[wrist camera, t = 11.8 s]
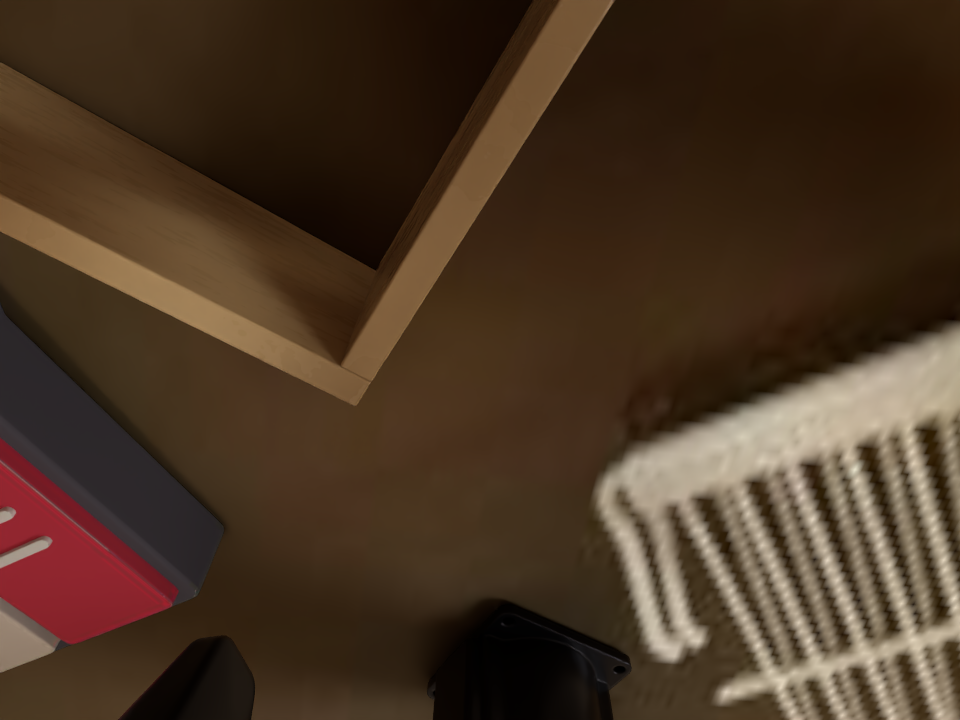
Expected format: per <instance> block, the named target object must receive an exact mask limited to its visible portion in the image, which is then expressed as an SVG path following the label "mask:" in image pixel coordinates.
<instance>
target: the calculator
mask: <svg viewBox="0 0 960 720" xmlns="http://www.w3.org/2000/svg"><path fill="white" fill-rule="evenodd" d="M223 533H224V527H223V525H222V524H221V523H220V522H219V521H218V520H217V519H216V518H215V517H214V516H213V515H212V514H211V513H210V512H209V511H208V510H207V509H206V508H205V507H204V506H203V505H202V504H200V503H199V502H198V501H197V500H196V499H195V498H194V497H193V496H192V495H191V494H190V493H189V492H188V491H187V490H186V489H185V488H184V487H183V486H182V485H181V484H180V483H179V482H178V481H177V480H176V479H175V478H173V477H172V476H171V475H170V474H169V473H168V472H167V471H166V470H165V469H164V468H163V467H162V466H161V465H160V464H159V463H158V462H157V461H156V460H155V459H154V458H153V457H152V456H151V455H150V454H149V453H148V452H147V451H145V450H144V449H143V448H142V447H141V446H140V445H139V444H138V443H137V442H136V441H135V440H134V439H133V438H132V437H131V436H130V435H129V434H128V433H127V432H126V431H125V430H124V429H123V428H122V427H121V426H120V425H119V424H117V423H116V422H115V421H114V420H113V419H112V418H111V417H110V416H109V415H108V414H107V413H106V412H105V411H104V410H103V409H102V408H101V407H100V406H99V405H98V404H97V403H96V402H95V401H94V400H93V399H92V398H91V397H89V396H88V395H87V394H86V393H85V392H84V391H83V390H82V389H81V388H80V387H79V386H78V385H77V384H76V383H75V382H74V381H73V380H72V379H71V378H70V377H69V376H68V375H67V374H66V373H65V372H64V371H63V370H61V369H60V368H59V367H58V366H57V365H56V364H55V363H54V362H53V361H52V360H51V359H50V358H49V357H48V356H47V355H46V354H45V353H44V352H43V351H42V350H41V349H40V348H39V347H38V346H37V345H36V344H35V343H33V342H32V341H31V340H30V339H29V338H28V337H27V336H26V335H25V334H24V333H23V332H22V331H21V330H20V329H19V328H18V327H17V326H16V325H15V324H14V323H13V322H12V321H11V320H10V319H9V318H8V317H7V316H6V315H5V313H4V311H3V308H2V306H1V303H0V673H1V672H3V671H6V670H9V669H11V668H14V667H17V666H19V665H22V664H24V663H27V662H30V661H32V660H35V659H37V658H40V657H43V656H45V655H48V654H50V653H52V652H54V651H57V650H59V649H62V648H65V647H67V646H70V645H72V644H76V643H79V642H82V641H85V640H87V639H90V638H92V637H95V636H98V635H100V634H103V633H106V632H108V631H111V630H113V629H116V628H119V627H121V626H124V625H127V624H129V623H132V622H134V621H137V620H140V619H142V618H145V617H147V616H150V615H153V614H155V613H158V612H161V611H163V610H166V609H168V608H170V607H172V606H174V605H177V604H180V603H182V602H185V601H187V600H190V599H192V598H194V597H196V596H197V595H198V594H199V592H200V590H201V587H202V585H203V583H204V580H205V578H206V575H207V573H208V570H209V568H210V565H211V563H212V561H213V558H214V556H215V553H216V551H217V548H218V546H219V543H220V541H221V538H222V536H223Z"/></svg>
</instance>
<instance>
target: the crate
mask: <svg viewBox="0 0 960 720" xmlns="http://www.w3.org/2000/svg"><path fill="white" fill-rule="evenodd" d="M614 1H615V0H533V1H532V3H531V5H530V7H529V8H528V10H527V12H526V13H525V15H524V17H523V19H522V20H521V22H520V24H519V25H518V27H517V29H516V31H515V32H514V34H513V36H512V37H511V39H510V41H509V43H508V44H507V46H506V48H505V49H504V51H503V53H502V55H501V56H500V58H499V60H498V61H497V63H496V65H495V67H494V68H493V70H492V72H491V74H490V75H489V77H488V79H487V80H486V82H485V84H484V86H483V87H482V89H481V91H480V92H479V94H478V96H477V98H476V99H475V101H474V103H473V104H472V106H471V108H470V110H469V111H468V113H467V115H466V116H465V118H464V120H463V122H462V123H461V125H460V127H459V128H458V130H457V132H456V134H455V135H454V137H453V139H452V140H451V142H450V144H449V146H448V147H447V149H446V151H445V153H444V154H443V156H442V158H441V159H440V161H439V163H438V165H437V166H436V168H435V170H434V171H433V173H432V175H431V177H430V178H429V180H428V182H427V183H426V185H425V187H424V189H423V190H422V192H421V194H420V195H419V197H418V199H417V201H416V202H415V204H414V206H413V207H412V209H411V211H410V213H409V214H408V216H407V218H406V219H405V221H404V223H403V225H402V226H401V228H400V230H399V232H398V233H397V235H396V237H395V238H394V240H393V242H392V244H391V245H390V247H389V249H388V250H387V252H386V254H385V256H384V257H383V259H382V261H381V262H380V264H379V266H378V268H377V269H376V271H375V270H374V269H372V268H370V267H368V266H366V265H365V264H363V263H361V262H359V261H357V260H356V259H354V258H352V257H350V256H348V255H347V254H345V253H343V252H341V251H339V250H338V249H336V248H334V247H332V246H330V245H329V244H327V243H325V242H323V241H321V240H320V239H318V238H316V237H314V236H312V235H311V234H309V233H307V232H305V231H303V230H302V229H300V228H298V227H296V226H294V225H293V224H291V223H289V222H287V221H285V220H284V219H282V218H280V217H278V216H276V215H275V214H273V213H271V212H269V211H267V210H266V209H264V208H262V207H260V206H258V205H257V204H255V203H253V202H251V201H249V200H248V199H246V198H244V197H242V196H240V195H239V194H237V193H235V192H233V191H231V190H230V189H228V188H226V187H224V186H222V185H221V184H219V183H217V182H215V181H213V180H212V179H210V178H208V177H206V176H204V175H203V174H201V173H199V172H197V171H195V170H194V169H192V168H190V167H188V166H186V165H185V164H183V163H181V162H179V161H177V160H176V159H174V158H172V157H170V156H168V155H167V154H165V153H163V152H161V151H159V150H158V149H156V148H154V147H152V146H150V145H149V144H147V143H145V142H143V141H141V140H140V139H138V138H136V137H134V136H132V135H131V134H129V133H127V132H125V131H123V130H122V129H120V128H118V127H116V126H114V125H113V124H111V123H109V122H107V121H105V120H104V119H102V118H100V117H98V116H96V115H95V114H93V113H91V112H89V111H87V110H86V109H84V108H82V107H80V106H78V105H77V104H75V103H73V102H71V101H69V100H68V99H66V98H64V97H62V96H60V95H59V94H57V93H55V92H53V91H51V90H50V89H48V88H46V87H44V86H42V85H41V84H39V83H37V82H35V81H33V80H32V79H30V78H28V77H26V76H24V75H23V74H21V73H19V72H17V71H16V70H14V69H12V68H10V67H8V66H7V65H5V64H3V63H1V62H0V232H2V233H4V234H6V235H8V236H10V237H12V238H14V239H16V240H18V241H20V242H22V243H24V244H26V245H28V246H30V247H32V248H34V249H36V250H38V251H40V252H42V253H44V254H47V255H49V256H51V257H53V258H55V259H57V260H59V261H61V262H63V263H65V264H67V265H69V266H71V267H73V268H75V269H77V270H79V271H81V272H83V273H85V274H87V275H89V276H91V277H93V278H95V279H97V280H99V281H101V282H103V283H105V284H107V285H109V286H111V287H113V288H116V289H118V290H120V291H122V292H124V293H126V294H128V295H130V296H132V297H134V298H136V299H138V300H140V301H142V302H144V303H146V304H148V305H150V306H152V307H154V308H156V309H158V310H160V311H162V312H164V313H166V314H168V315H170V316H172V317H174V318H176V319H178V320H180V321H182V322H184V323H187V324H189V325H191V326H193V327H195V328H197V329H199V330H201V331H203V332H205V333H207V334H209V335H211V336H213V337H215V338H217V339H219V340H221V341H223V342H225V343H227V344H229V345H231V346H233V347H235V348H237V349H239V350H241V351H243V352H245V353H247V354H249V355H251V356H253V357H256V358H258V359H260V360H262V361H264V362H266V363H268V364H270V365H272V366H274V367H276V368H278V369H280V370H282V371H284V372H286V373H288V374H290V375H292V376H294V377H296V378H298V379H300V380H302V381H304V382H306V383H308V384H310V385H312V386H314V387H316V388H318V389H320V390H322V391H324V392H327V393H329V394H331V395H333V396H335V397H337V398H339V399H341V400H343V401H345V402H347V403H349V404H351V405H353V406H356V405H357V404H358V403H359V401H360V399H361V398H362V396H363V395H364V393H365V392H366V390H367V388H368V387H369V385H370V384H371V381H372V380H373V379H374V377H375V376H376V374H377V373H378V371H379V370H380V368H381V366H382V365H383V363H384V362H385V360H386V359H387V357H388V355H389V354H390V352H391V351H392V349H393V348H394V346H395V344H396V343H397V341H398V340H399V338H400V337H401V335H402V334H403V332H404V330H405V329H406V327H407V326H408V324H409V323H410V321H411V319H412V318H413V316H414V315H415V313H416V312H417V310H418V308H419V307H420V305H421V304H422V302H423V301H424V299H425V297H426V296H427V294H428V293H429V291H430V290H431V288H432V286H433V285H434V283H435V282H436V280H437V279H438V277H439V275H440V274H441V272H442V271H443V269H444V268H445V266H446V265H447V263H448V261H449V260H450V258H451V257H452V255H453V254H454V252H455V250H456V249H457V247H458V246H459V244H460V243H461V241H462V239H463V238H464V236H465V235H466V233H467V232H468V230H469V228H470V227H471V225H472V224H473V222H474V221H475V219H476V217H477V216H478V214H479V213H480V211H481V210H482V208H483V206H484V205H485V203H486V202H487V200H488V199H489V197H490V196H491V194H492V192H493V191H494V189H495V188H496V186H497V185H498V183H499V181H500V180H501V178H502V177H503V175H504V174H505V172H506V170H507V169H508V167H509V166H510V164H511V163H512V161H513V159H514V158H515V156H516V155H517V153H518V152H519V150H520V148H521V147H522V145H523V144H524V142H525V141H526V139H527V137H528V136H529V134H530V133H531V131H532V130H533V128H534V127H535V125H536V123H537V122H538V120H539V119H540V117H541V116H542V114H543V112H544V111H545V109H546V108H547V106H548V105H549V103H550V101H551V100H552V98H553V97H554V95H555V94H556V92H557V90H558V89H559V87H560V86H561V84H562V83H563V81H564V79H565V78H566V76H567V75H568V73H569V72H570V70H571V68H572V67H573V65H574V64H575V62H576V61H577V59H578V58H579V56H580V54H581V53H582V51H583V50H584V48H585V47H586V45H587V43H588V42H589V40H590V39H591V37H592V36H593V34H594V32H595V31H596V29H597V28H598V26H599V25H600V23H601V21H602V20H603V18H604V17H605V15H606V14H607V12H608V10H609V9H610V7H611V6H612V4H613V3H614Z"/></svg>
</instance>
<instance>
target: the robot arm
mask: <svg viewBox="0 0 960 720" xmlns="http://www.w3.org/2000/svg"><path fill="white" fill-rule="evenodd" d="M508 617H509V618H508ZM630 672H631V663H630V659H629V657H628V656H627V655H625V654H623V653H621V652H618V651H616V650H614V649H611V648H609V647H607V646H605V645H602V644H600V643H598V642H595V641H593V640H591V639H589V638H586V637H584V636H582V635H579V634H577V633H575V632H573V631H570V630H568V629H566V628H563V627H561V626H559V625H557V624H554V623H552V622H550V621H547V620H545V619H543V618H541V617H538V616H536V615H534V614H531V613H529V612H527V611H525V610H522V609H520V608H518V607H515V606H512V605H504V606H501V607H499V608H498V609H497V610H496V611H495V612H494V613H493V614H492V615H491V616H490V617H489V618H488V619H487V620H486V622H485V623H484V624H483V625H482V626H481V627H480V628H479V629H478V630H477V631H476V632H475V633H474V634H473V635H472V636H471V637H470V638H469V639H467V640H465V641H464V642H463V644H462V645H461V646H460V647H459V648H458V649H457V650H456V651H455V652H454V653H453V654H452V655H451V656H450V657H449V658H448V659H447V660H446V661H445V663H444V664H443V665H442V666H441V667H440V668H439V669H438V670H437V673H436V674H435V675H434V676H433V677H432V678H431V679H430V681H429V682H428V688H427V695H428V696H429V697H430V698H432V699H434V712H433V720H613V713H612V707H611V701H610V695H609V690H610V689H611V688H612V687H614V686H615V685H616V684H617V683H618V682H620V681H621V680H622V679H623V678H624V677H626V676H627V675H628V674H629V673H630ZM254 695H255V683H254V678H253V675H252V672H251V670H250V669H249V667H248V665H247V664H246V662H245V660H244V659H243V657H242V655H241V654H240V652H239V650H238V649H237V647H236V645H235V644H234V642H233V641H232V639H231V638H229V637H227V636H223V635H221V636H214V637H207V638H201V639H198V640H195V641H194V642H192V643H191V644H190V645H189V646H188V647H187V648H186V649H185V650H184V651H183V652H182V653H181V654H180V655H179V656H178V657H177V658H176V659H175V660H174V662H173V663H172V664H171V665H170V666H169V667H168V668H167V669H166V670H165V671H164V672H163V673H162V674H161V675H160V676H159V677H158V678H157V679H156V680H155V681H154V682H153V684H152V685H151V686H150V687H149V688H148V689H147V690H146V691H145V692H144V693H143V694H142V695H141V696H140V697H139V698H138V699H137V700H136V701H135V702H134V703H133V704H132V706H131V707H130V708H129V709H128V710H127V711H126V712H125V713H124V714H123V715H122V716H121V717H120V718H119V719H118V720H251V716H252V709H253V702H254Z"/></svg>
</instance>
